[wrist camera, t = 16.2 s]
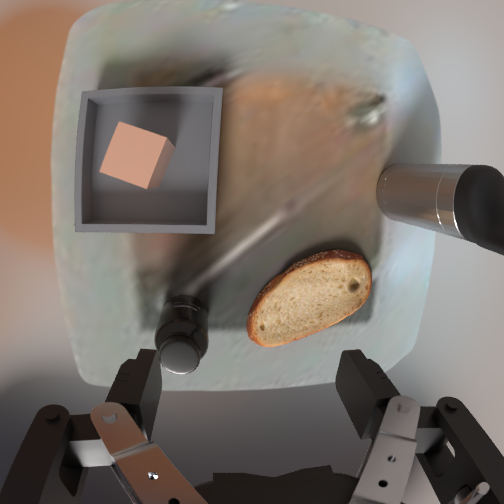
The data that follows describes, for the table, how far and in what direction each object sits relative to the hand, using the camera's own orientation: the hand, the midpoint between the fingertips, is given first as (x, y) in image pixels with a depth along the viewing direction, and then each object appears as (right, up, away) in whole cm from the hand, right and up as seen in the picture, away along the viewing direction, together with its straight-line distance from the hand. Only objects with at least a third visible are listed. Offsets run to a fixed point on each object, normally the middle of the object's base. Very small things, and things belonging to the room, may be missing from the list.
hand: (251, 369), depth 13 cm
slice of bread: (+9, -2, +35) cm, 36 cm away
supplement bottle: (-10, -4, +32) cm, 34 cm away
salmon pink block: (-13, +17, +25) cm, 33 cm away
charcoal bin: (-14, +17, +26) cm, 34 cm away
